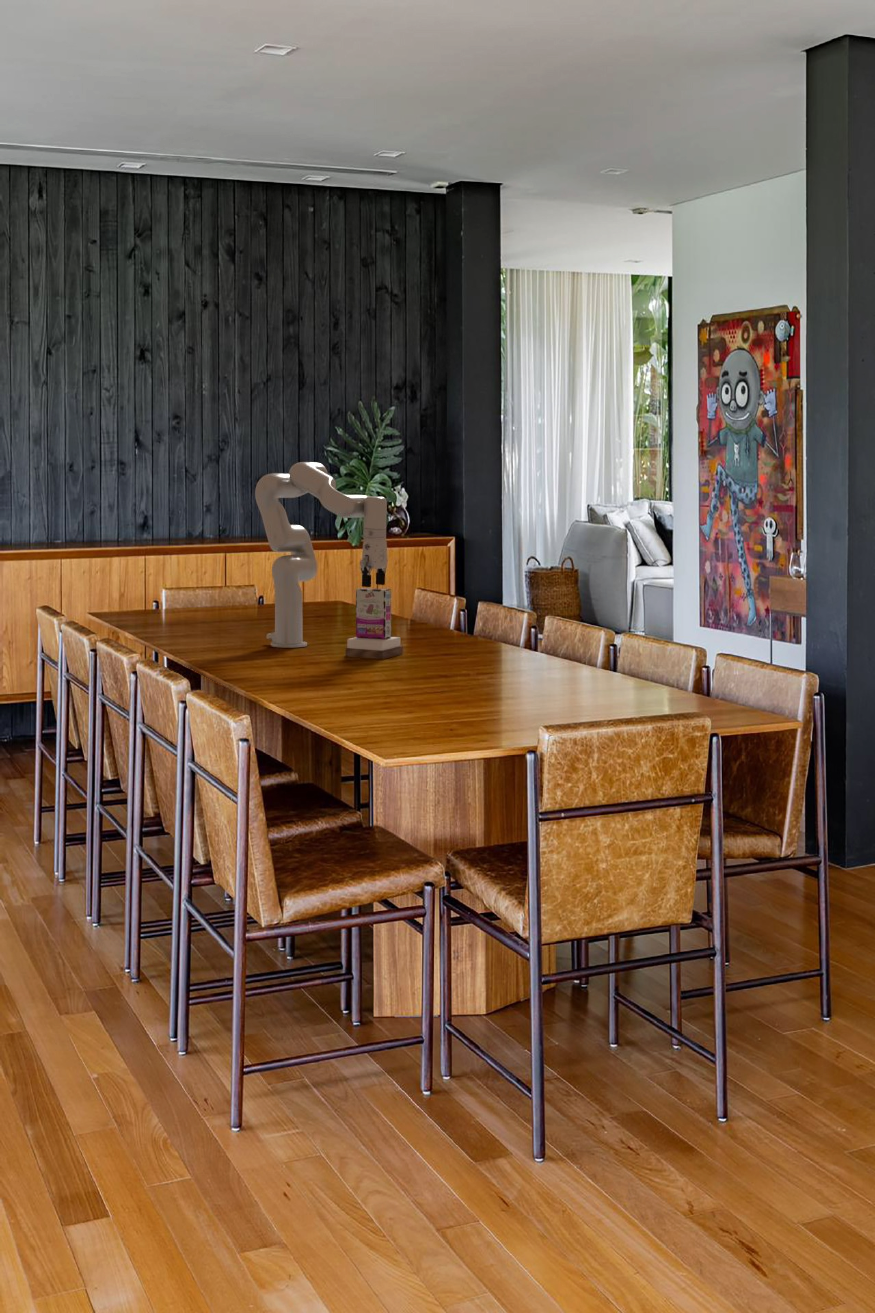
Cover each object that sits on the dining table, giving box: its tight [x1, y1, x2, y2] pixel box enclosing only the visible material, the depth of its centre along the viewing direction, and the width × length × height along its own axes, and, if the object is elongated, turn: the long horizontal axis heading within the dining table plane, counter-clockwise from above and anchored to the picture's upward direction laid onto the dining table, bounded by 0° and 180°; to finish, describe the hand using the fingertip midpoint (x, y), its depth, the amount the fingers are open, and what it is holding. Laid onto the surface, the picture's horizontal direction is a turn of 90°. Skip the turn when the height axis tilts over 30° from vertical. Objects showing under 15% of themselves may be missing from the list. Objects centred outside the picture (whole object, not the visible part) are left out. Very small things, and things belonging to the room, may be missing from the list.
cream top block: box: [346, 636, 401, 651], centre depth 472 cm, size 13×13×3 cm
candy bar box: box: [355, 587, 392, 639], centre depth 471 cm, size 11×5×16 cm, turn 65°
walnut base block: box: [345, 645, 404, 660], centre depth 472 cm, size 14×14×4 cm
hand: (373, 585), depth 470 cm, fingers open, 9 cm apart
